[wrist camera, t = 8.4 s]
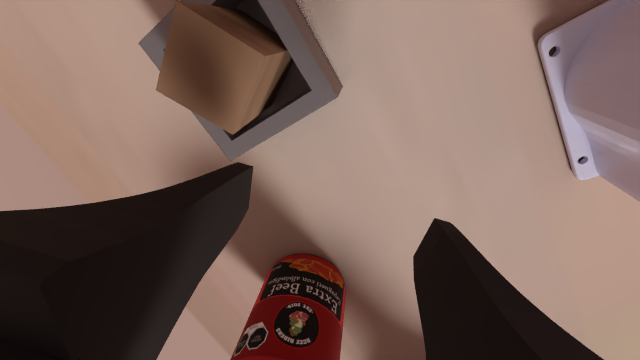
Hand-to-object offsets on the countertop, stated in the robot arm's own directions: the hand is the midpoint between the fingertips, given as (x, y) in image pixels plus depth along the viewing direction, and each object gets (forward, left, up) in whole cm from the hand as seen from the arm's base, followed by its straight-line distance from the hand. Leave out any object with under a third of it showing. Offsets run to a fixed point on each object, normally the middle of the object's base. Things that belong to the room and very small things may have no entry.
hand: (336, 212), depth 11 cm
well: (+7, +3, -9) cm, 12 cm away
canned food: (-11, +11, -10) cm, 18 cm away
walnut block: (+7, +3, -9) cm, 12 cm away
